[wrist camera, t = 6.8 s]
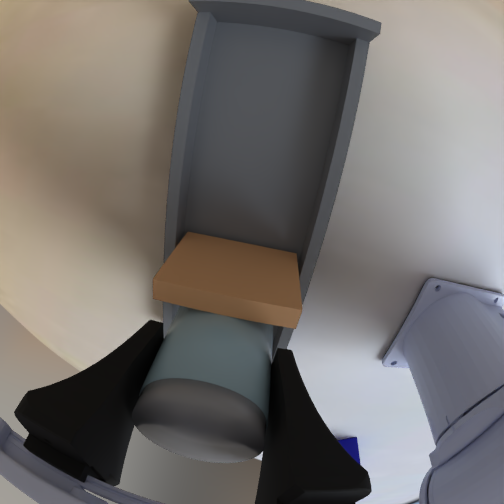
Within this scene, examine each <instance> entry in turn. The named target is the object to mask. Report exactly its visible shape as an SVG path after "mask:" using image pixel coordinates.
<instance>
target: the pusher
mask: <svg viewBox="0 0 504 504" xmlns="http://www.w3.org/2000/svg"><path fill="white" fill-rule="evenodd" d="M153 299H156V300H160V301H164V302H168V303H172V304H176V305H180V306H184V307H188V308H193V309H197V310H201V311H206V312H210V313H215V314H220V315H224V316H229V317H234V318H239V319H244V320H249V321H254V322H260V323H265V324H270V325H276V326H282V327H287V328H293V329H296V327H297V324H298V321H299V318H300V316H301V313H302V300H301V290H300V280H299V271H298V262H297V253H292V252H287V251H282V250H277V249H272V248H268V247H263V246H258V245H253V244H248V243H243V242H238V241H233V240H228V239H223V238H218V237H213V236H208V235H203V234H198V233H193V232H187V233H186V235H185V236H184V237H183V239H182V240H181V241H180V243H179V244H178V245H177V247H176V248H175V249H174V251H173V252H172V253H171V255H170V256H169V257H168V259H167V260H166V261H165V263H164V264H163V266H162V267H161V268H160V270H159V271H158V273H157V274H156V275H155V277H154V278H153Z"/></svg>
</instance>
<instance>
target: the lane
mask: <svg viewBox="0 0 504 504" xmlns="http://www.w3.org/2000/svg"><path fill="white" fill-rule="evenodd" d="M189 2H190V3H191V4H192V6H193V7H194V8H195V9H196V10H197V11H198V14H197V18H196V22H195V26H194V30H193V34H192V39H191V43H190V48H189V52H188V57H187V62H186V67H185V72H184V77H183V82H182V88H181V94H180V100H179V106H178V112H177V119H176V125H175V133H174V140H173V148H172V156H171V165H170V175H169V185H168V197H167V209H166V224H165V243H164V263H165V261H166V260H167V259H168V257H169V256H170V255H171V253H172V252H173V251H174V249H175V248H176V247H177V245H178V244H179V243H180V241H181V240H182V239H183V237H184V236H185V235H186V233H187V232H193V233H198V234H203V235H208V236H213V237H218V238H223V239H228V240H233V241H238V242H243V243H248V244H253V245H258V246H263V247H268V248H272V249H277V250H282V251H287V252H292V253H297V262H298V271H299V280H300V290H301V300H302V304H303V301H304V298H305V296H306V293H307V290H308V287H309V284H310V281H311V278H312V274H313V271H314V268H315V265H316V262H317V259H318V256H319V252H320V249H321V246H322V243H323V239H324V236H325V233H326V229H327V226H328V222H329V219H330V215H331V212H332V208H333V205H334V201H335V198H336V194H337V190H338V186H339V183H340V179H341V175H342V171H343V167H344V163H345V159H346V155H347V151H348V147H349V143H350V138H351V134H352V130H353V125H354V121H355V116H356V112H357V107H358V102H359V97H360V92H361V87H362V82H363V77H364V71H365V66H366V60H367V54H368V48H369V42H370V41H372V40H373V39H374V38H375V37H377V36H378V35H379V34H380V30H381V22H378V21H375V20H372V19H370V18H367V17H364V16H361V15H358V14H355V13H352V12H348V11H345V10H342V9H338V8H334V7H331V6H327V5H323V4H319V3H314V2H310V1H305V0H189ZM179 306H180V305H176V304H172V303H168V302H164V301H163V330H164V338H165V336H166V333H167V331H168V329H169V327H170V325H171V323H172V321H173V319H174V317H175V315H176V313H177V311H178V308H179ZM293 330H294V329H293V328H287V327H282V326H276V325H273V344H272V362H273V359H274V356H275V353H276V350H277V348H282V349H287V346H288V343H289V341H290V338H291V335H292V333H293ZM271 364H272V363H271Z"/></svg>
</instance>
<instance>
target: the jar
mask: <svg viewBox="0 0 504 504" xmlns="http://www.w3.org/2000/svg"><path fill="white" fill-rule="evenodd" d="M272 344H273V325H270V324H265V323H260V322H254V321H249V320H244V319H239V318H234V317H229V316H224V315H220V314H215V313H210V312H206V311H201V310H197V309H193V308H188V307H184V306H179V308H178V311H177V313H176V315H175V317H174V319H173V321H172V323H171V325H170V327H169V329H168V331H167V333H166V336H165V338H164V340H163V342H162V344H161V346H160V348H159V350H158V353H157V355H156V357H155V359H154V361H153V363H152V366H151V368H150V370H149V372H148V374H147V377H146V379H145V381H144V383H143V386H142V388H141V390H140V394H139V398H138V400H137V403H136V405H135V407H134V410H133V412H132V420H133V422H134V424H135V426H136V427H137V429H138V430H139V431H140V432H141V433H142V434H143V435H144V436H145V437H147V438H148V439H149V440H151V441H152V442H154V443H155V444H157V445H159V446H160V447H162V448H164V449H166V450H168V451H170V452H173V453H175V454H178V455H181V456H184V457H188V458H191V459H195V460H200V461H206V462H214V463H215V462H216V463H234V462H241V461H246V460H249V459H252V458H254V457H256V456H258V455H259V454H261V452H262V451H263V450H264V447H265V436H266V428H267V426H268V413H269V397H270V381H271V363H272Z"/></svg>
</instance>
